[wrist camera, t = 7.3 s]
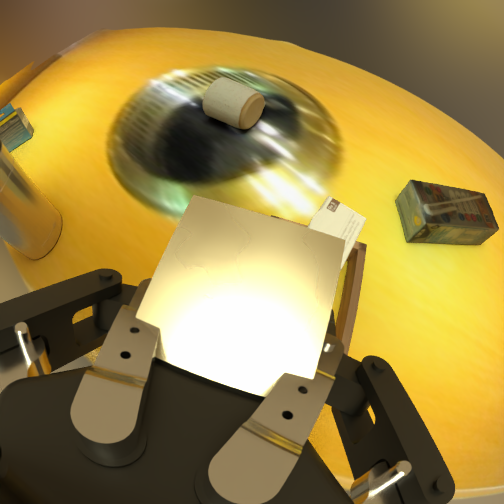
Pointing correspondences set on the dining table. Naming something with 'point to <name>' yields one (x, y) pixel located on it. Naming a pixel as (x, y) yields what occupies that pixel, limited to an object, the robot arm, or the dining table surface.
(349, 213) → the skincare box
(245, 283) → the tea tin
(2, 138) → the label tape cartridge
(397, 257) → the dining table surface
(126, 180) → the dining table surface
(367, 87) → the dining table surface
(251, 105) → the ceramic mug
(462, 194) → the beverage carton
